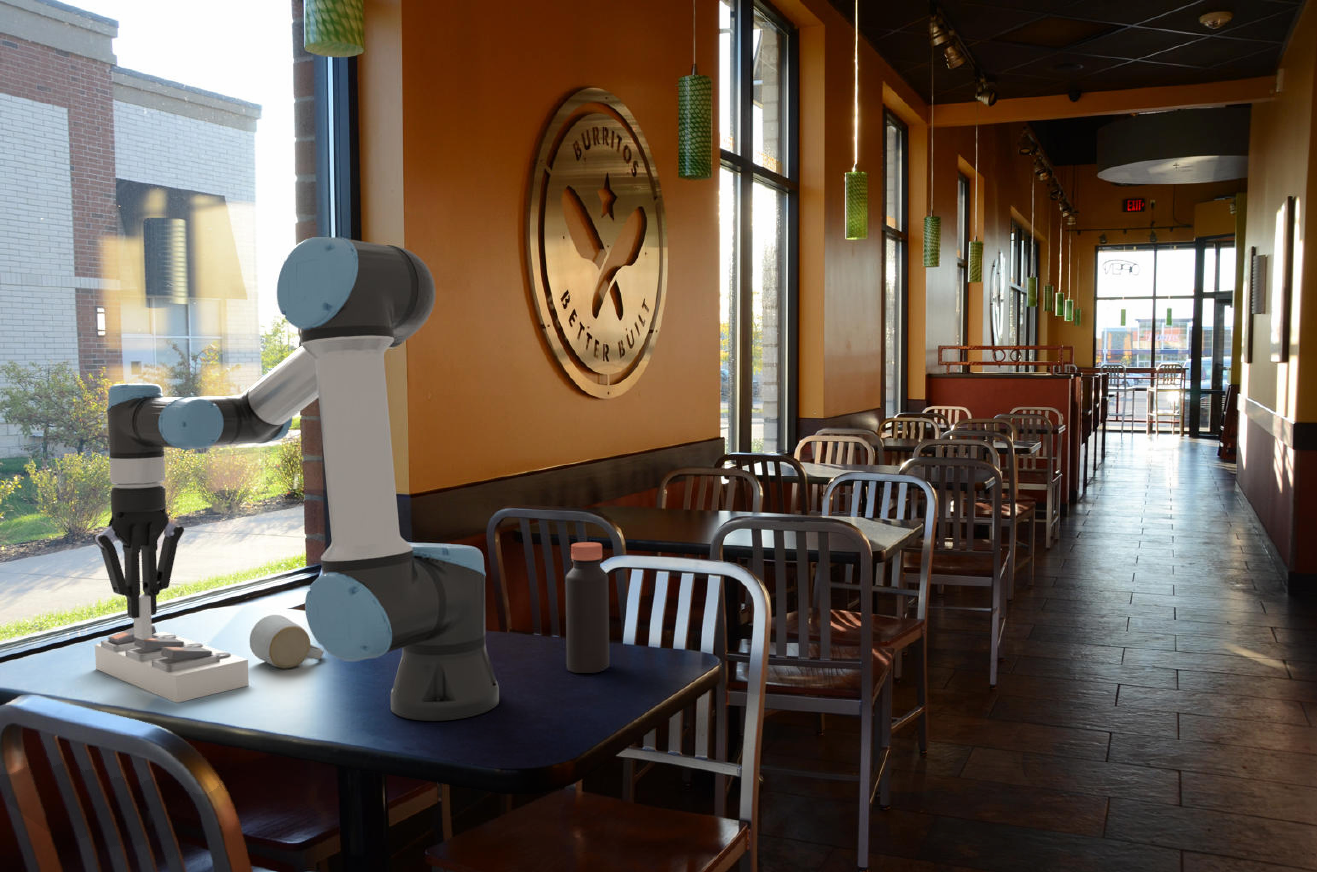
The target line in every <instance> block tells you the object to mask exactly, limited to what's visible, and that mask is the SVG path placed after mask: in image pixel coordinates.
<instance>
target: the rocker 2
mask: <svg viewBox="0 0 1317 872" xmlns="http://www.w3.org/2000/svg"><path fill="white" fill-rule="evenodd" d="M211 655H212V651H210V650H207V649H204V648H201V647H162V651H161V656H164V657H167V658H170V659H201V658H205V657H210V656H211Z"/></svg>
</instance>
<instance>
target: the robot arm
mask: <svg viewBox="0 0 1317 872" xmlns="http://www.w3.org/2000/svg"><path fill="white" fill-rule="evenodd" d="M275 291H276V293H275V294H276V302H277V305H278V306H277V307H278V309H279V312H280V313H281V314H282V315H283V316H284V319H285V320H286V321H287V323H288V324H290V325H292V326H293V327H295V328H297V329H299V332H300V333H299V334H300V342H301V343H300V345H301V346H300V347H298V348H297V349H296V350H295V351H293V352H292V353H291V354H290V355H289V356H288V357H286V358H285V359H283V360H282V361H281V362H280V363H279V364H278V365H276V366H275V367H274V368H273V369H272V370H270V371H269V372H268V373H266V374H265V375H264V376H263V377H262V378H260V380H258V381H257V382H256V383H254V384H253V385H252V386H251V387H249V388H248V389H247V390H245V391H244V392H243V393H241V394H239V395H227V396H226V395H225V396H224V395H221V396H181V397H179V396H178V397H176V396H175V397H172V396H171V397H164V394H163V389H162V386H161V385H160V384H157V383H116V384H113V385H111V386H110V387H109V388H108V392H107V408H106V413H107V427H108V428H107V429H108V430H107V431H108V434H107V435H108V449H109V477H110V478H109V479H110V483H111V484H112V485H114V486H113V487H112V488H111V489H110V510H111V517H110V520H109V522H108V527H107V528H106V529H105V530H103V531H102V532H100V533H95V534H94V535H93V537H92V541H94V542H95V544H96V545H97V546H98V547H99V548H100V551H101V554H102V557H103V561H104V564H105V569H106V571H107V575H108V578H109V581H110V585H111V588H112V591H113V593H114V594H117V595H120V596H125V597H126V606H127V608H126V610H127V612H126V613H127V616H128V618H130V619H133V627H134V637H135V638H138V639H141V640H144V639H150V638H152V626H151V625H152V616H155V615H156V614H157V611H158V610H157V609H158V608H157V596H158V595H159V594H160V593H161V591H162V590H166V589H168V588H169V586H170V583H171V582H170V581H171V577H172V573H173V567H174V562H175V558H176V554H177V549H178V548H177V547H178V543H179V541H180V539H181V537H182V535H183V534H184V533H185V528H184V527H183V526H181V525H176V524H174V523H173V522H170V518H169V516H168V515H167V512H166V508H167V499H166V498H167V497H166V487H165V486H164V484H162V483H163V482H165V481H166V467H165V466H166V464H165V448H170V449H180V450H185V451H189V450H200V449H205V448H209V447H216V446H226V445H227V446H229V445H244V444H245V445H246V444H266V443H269V442H275V441H280V440H282V439H283V438H285V437H286V436H287V435H288V434H289V430H290V428H291V427H292V423H293V418H294V417H295V416H296V415H297V414H298V413H299V412H300V413H301V411H302V410H304V409H306V407H307V406H309V405H310V404H311V403H313V402H315V401H316V400H317V399H318V404H319V414H320V415H319V416H320V426H321V427H320V429H321V436H322V437H321V438H322V446H323V447H322V448H323V458H324V459H323V461H324V469H325V470H324V471H325V480H326V493H327V502H328V503H327V505H328V514H329V515H328V516H329V523H330V524H329V525H330V533H331V534H330V535H331V543H330V545H329V547H328V548H327V549H326V550H325V551H324V552H323V554H322V555H321V556H320V560H321V561H320V564H321V575H319V576H318V577H317V578H316V579H315V580H314V581H313V582H312V583H311V584H310V586H309V590H308V591H307V592H306V596H305V601H304V611H305V617H306V620H307V624H308V627H309V629H310V632H311V633H312V635H313V637H314V639H315V640H316V641H317V643H318V644H319V645H320V646H322V647H323V650H325V652H327V653H328V654H330V655H331V656H332V657H334V658H336V659H339V660H342V661H346V662H358V661H363V660H366V659H367V660H368V659H376V658H380V657H382V656H384V655H385V654H387V653H390V652H393V651H396V650H399V649H402V652H401V653H402V654H401V657H400V662H399V664H398V668H397V671H396V675H395V679H394V682H393V687H392V689H391V691H390V710H391V712H392V713H393V714H394V715H395V716H398V717H402V718H404V719H410V720H415V721H426V722H427V721H429V722H430V721H431V722H436V721H439V722H441V721H452V720H460V719H467V718H470V717H471V718H472V717H475V716H479V715H483V714H485V713H487V712H489V711H491V710H493V709H494V708H495V707H497V706H498V705H499V703H500V691H499V689H500V688H499V683H498V681H497V679H496V678H497V677H496V674H495V672H494V669H493V665H492V662H491V660H490V658H489V654H488V651H487V645H486V640H487V639H486V575H487V573H486V571H485V559H484V555H483V553H482V551H481V550H480V549H479V548H478V547H475V546H472V545H463V544H451V543H434V542H433V543H431V542H429V543H428V542H412V543H411V542H408V541H406V540H405V539H404V538H403V537H402V536H401V532H400V524H399V522H400V521H399V513H398V512H399V511H398V501H397V489H396V481H395V479H396V478H395V469H394V467H395V466H394V458H393V446H392V434H391V433H392V432H391V422H390V413H389V401H388V389H387V379H386V367H385V366H386V365H385V356H384V355H385V354H386V353H385V352H386V351H387V350H388V349H395V348H397V347H399V346H400V345H401V344H403V343H404V342H405V341H406V340H408V339H409V338H410V337H412V336H413V335H414V334H416V333H417V332H418V331H419V330H420V329H421V328H422V327H423V325H424V324H425V323H426V322H427V321H428V320H429V317H430V315H431V314H432V312H433V310H434V306H435V301H436V285H435V281H434V278H433V274H432V272H431V271H430V269H429V267H428V266H427V264H426V263H425V262H424V261H423V260H422V259H421V258H420V256H418V255H416V254H415V253H414V252H413V251H410V250H408V249H406V248H404V247H401V246H396V245H390V244H389V245H388V244H387V245H385V244H379V243H373V242H367V241H362V240H356V239H349V238H345V237H342V236H335V237H325V236H314V237H310V238H306V239H304V240H302V241H301V242H299V243H298V244H297V245H295V246H294V247H293V248H292V249H291V250H290V251H289V253H288V256H287V258H286V259H284V260H283V262H282V264H281V267H280V269H279V272H278V276H277V281H276V290H275ZM162 534H163V535H164V536H163V540H162V543H161V549H160V553H159V559H158V561H157V551H158V547H159V546H158V540H159V539H160V537H161V536H162ZM114 536H116V538H117V539H118V540H119V542H121V544H122V551H123V556H124V557H123V559H124V561H123V562H124V571H123V569H122V565H121V562H120V559H119V555H118V551H117V549H116V546H115V545H114V543H115V541H116V540H115V537H114ZM140 553H141V554H140ZM140 555H141V567H140ZM157 562H158V563H157ZM140 569H141V570H140ZM140 571H141V572H140ZM140 573H141V574H140ZM141 575H142V577H141ZM141 578H142V580H141ZM141 581H142V583H141ZM141 584H142V592H143V593H141Z"/></svg>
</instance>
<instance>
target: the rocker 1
mask: <svg viewBox="0 0 1317 872" xmlns="http://www.w3.org/2000/svg"><path fill="white" fill-rule="evenodd" d="M151 626H152V634H155V633H157V630H156V627H155V626H156V625H153V624H151ZM107 640H109V642H110V643H113V644H115V645H122V644H127V643H132V642H135V637H134V626H133V627H131V628H128V629H126V630H122V631H121V632H118V633H115V634H112V635H110V636H108V637H107Z"/></svg>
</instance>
